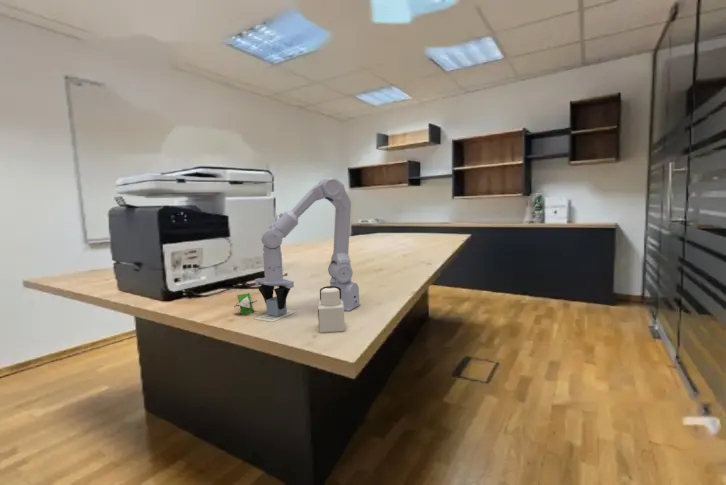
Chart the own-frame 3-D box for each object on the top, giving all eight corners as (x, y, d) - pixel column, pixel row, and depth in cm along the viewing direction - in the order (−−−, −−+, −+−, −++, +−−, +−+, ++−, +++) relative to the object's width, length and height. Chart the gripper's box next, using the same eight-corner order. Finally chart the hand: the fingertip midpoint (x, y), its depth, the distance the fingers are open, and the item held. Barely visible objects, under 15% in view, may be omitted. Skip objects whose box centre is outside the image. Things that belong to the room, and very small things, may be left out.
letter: (297, 311, 123) (297, 311, 123) (272, 322, 113) (272, 321, 113) (278, 308, 127) (278, 308, 127) (253, 318, 116) (253, 318, 116)
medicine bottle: (319, 324, 109) (318, 285, 107) (343, 323, 109) (342, 283, 108) (319, 333, 101) (317, 290, 100) (344, 331, 102) (343, 289, 101)
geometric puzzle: (230, 305, 125) (233, 290, 121) (249, 301, 129) (253, 286, 125) (237, 321, 121) (241, 305, 117) (256, 317, 125) (261, 301, 121)
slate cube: (286, 312, 121) (286, 297, 120) (277, 316, 117) (276, 301, 116) (276, 311, 123) (275, 296, 123) (266, 314, 119) (266, 299, 119)
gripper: (247, 267, 118) (250, 308, 119) (282, 270, 111) (284, 313, 112) (263, 264, 124) (265, 303, 126) (297, 266, 117) (299, 307, 119)
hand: (275, 307), depth 119 cm, fingers closed on slate cube, 4 cm apart
